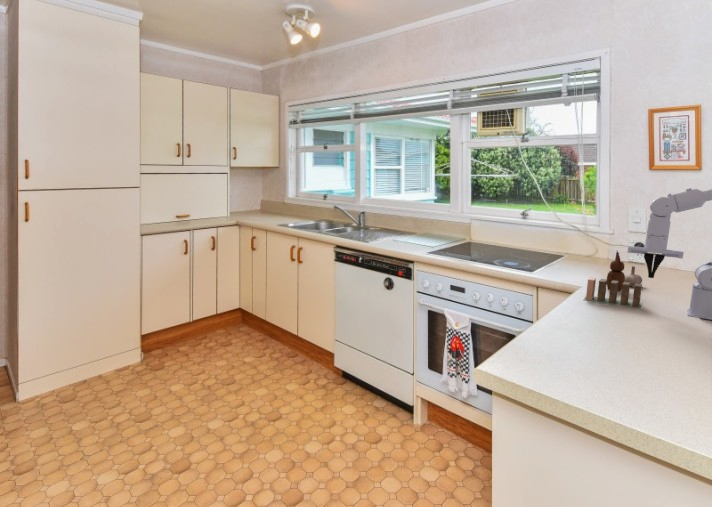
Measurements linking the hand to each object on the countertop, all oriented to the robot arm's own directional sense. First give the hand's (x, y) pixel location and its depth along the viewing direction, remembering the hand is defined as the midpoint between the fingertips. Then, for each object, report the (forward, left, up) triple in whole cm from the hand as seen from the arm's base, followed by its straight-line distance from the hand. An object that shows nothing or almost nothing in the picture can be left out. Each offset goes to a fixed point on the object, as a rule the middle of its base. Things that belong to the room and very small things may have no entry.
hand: (651, 277), depth 139 cm
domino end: (+17, 0, -10) cm, 19 cm away
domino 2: (+10, 0, -10) cm, 14 cm away
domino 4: (+3, 0, -10) cm, 10 cm away
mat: (+10, 0, -10) cm, 14 cm away
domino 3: (+6, 0, -10) cm, 12 cm away
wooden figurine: (+12, -20, -11) cm, 25 cm away
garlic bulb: (+8, -33, -11) cm, 35 cm away
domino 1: (+13, 0, -10) cm, 17 cm away
